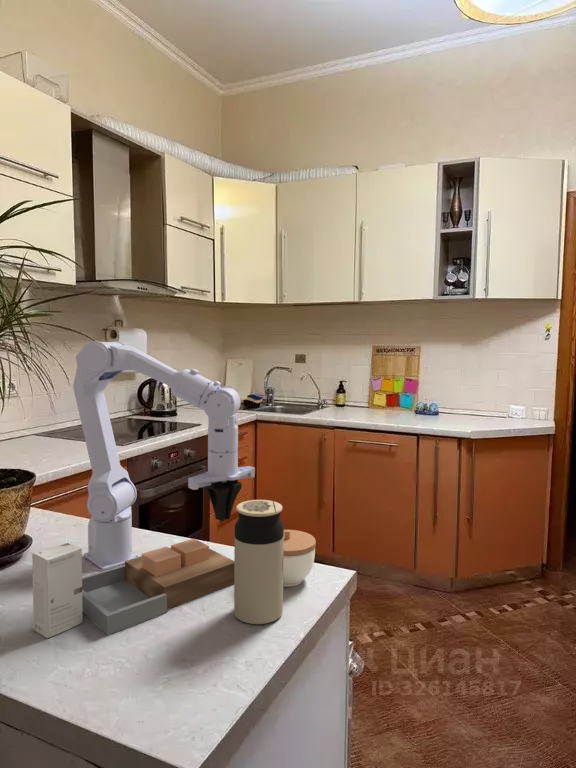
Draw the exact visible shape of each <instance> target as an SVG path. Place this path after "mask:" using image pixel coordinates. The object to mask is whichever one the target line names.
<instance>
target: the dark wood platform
mask: <svg viewBox="0 0 576 768" xmlns="http://www.w3.org/2000/svg"><path fill="white" fill-rule="evenodd" d="M169 548H170V549H171V547H169ZM139 556H140V555H139ZM124 566H125V580H126V581H127V582H129V583H130V584H131V585H133V586H134V587H135V588H137V589H138V590H140V591H141V592H142V593H144V594H145V595H147V596H148V597H149V598H152V597H155V596H158V595H161V594H163V593H165V594H166V595H167V611H168V610H171V609H173V608H175V607H178V606H180V604H181V605H183V604H186V603H188V601H189V602H191V601H194V600H196V599H199V598H201V597H204V596H206V595H209V594H212V593H214V592H217V591H220V590H222V589H225V588H228V587H230V586H233V585H234V559H231V558H229V557H227V556H226V555H223V554H221V553H220V552H217V551H215V550H213V549H211V548H209V559H208V560H205V561H202V562H199V563H196V564H193V565H190V566H184V565H182V564H181V568H180V569H177V570H174V571H171V572H168V573H165V574H162V575H159V576H154V575H153V574H151V573H150V572H148V571H147V570H145V569H144V568H142V555H141V556H140V557H137V558H134V559H130V560H127V561H125V564H124ZM185 602H186V603H185ZM172 607H173V608H172Z"/></svg>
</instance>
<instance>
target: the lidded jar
mask: <svg viewBox="0 0 576 768" xmlns="http://www.w3.org/2000/svg"><path fill="white" fill-rule="evenodd" d="M316 544H317V541H316V538H315V537H314V536H313V535H312V534H310V533H308V532H306V531H302V530H296V529H284V548H283V588H287V587H288V588H290V587H296V586H299V585H300V584H302V583H303V581H304V580H305V579H306V578H308V576H309V575H310V573H311V571H312V569H313V566H314V563H315V558H316V557H315V556H316Z"/></svg>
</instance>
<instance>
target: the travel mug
mask: <svg viewBox="0 0 576 768" xmlns="http://www.w3.org/2000/svg"><path fill="white" fill-rule="evenodd" d="M235 509H236V512H237V515H238V519H237V520H236V523H235V524H234V550H233V551H234V559H233V561H234V584H233V585H234V588H233V589H234V590H233V591H234V593H233V594H234V596H233V598H234V599H233V603H234V604H233V606H234V607H233V610H234V612H233V614H234V616H235V617H236V618H237V619H238V620H239V621H241V622H244V623H247V624H251V625H265V624H270V623H271V622H275V621H277V620H278V619H280V617H282V615H283V611H284V608H283V607H284V606H283V605H284V603H283V602H284V587H283V548H284V530H285V529H284V527H285V525H284V523H283V521H282V520H281V512H282V511H283V505H282V504H281V503H279V502H277V501H274V500H270V499H269V500H268V499H251V500H246V501H242V502H240V503H238V504H237V505H236V508H235Z"/></svg>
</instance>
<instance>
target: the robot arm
mask: <svg viewBox="0 0 576 768" xmlns="http://www.w3.org/2000/svg"><path fill="white" fill-rule="evenodd" d="M75 361H76V365H77V366H76V371H75V376H74V380H73V384H72V385H73V386H72V388H73V393H74V397H75V402H76V405H77V410H78V413H79V414H78V415H79V419H80V424H81V428H82V433H83V436H84V440H85V444H86V449H87V454H88V458H89V461H90V462H89V463H90V467H91V471H92V474H91V477H90V480H89V481H88V483H87V492H88V498H87V501H86V506H87V511H88V514H89V515H90V516H91V517H90V519H89V521H88V524H87V548H88V549H87V550H88V552H85V553H83V556H84V557H85V558H86V559H87V560H89V561H90V562H92V564H94V565H95V566H97V567H98V568H99V569H101V570H102V571H104V570H108V569H111V568H114V567H118V566H121V565H125V561H127V560H130V559H134V558H137V557H140V555H138V554H137V553H135V552H133V525H132V520H133V519H132V517H133V516H132V515H133V514H132V513H133V511H132V505H134V503H135V502H136V500H137V495H138V493H137V487H136V486H135V485H134V483H133V481H132V480H131V479H130V476H129V472H128V471H127V470H126V469H125V468H124V467H123V466H122V465H121V461H120V458H119V454H118V449H117V445H116V440H115V436H114V431H113V427H112V422H111V418H110V414H109V413H110V412H109V409H108V404H107V403H108V402H107V400H106V395H105V389H106V388H107V387H108V386H109V384H110V383H111V382H112V380H113V379H114V378H116V376H118V375H119V374H121V373H122V372H123V371H136V372H138V373H140V374H142V375H144V376H145V377H146V376H147V377H149V378H151V379H153V380H156V381H157V382H159V383H162V384H164V385H166V386H169V388H170V389H171V393H172V395H173V396H174V397H176V398H179V399H181V400H182V401H185V402H187V403H188V404H190V405H192V406H194V407H197V408H198V409H200V410H204V412H205V415H206V416H207V418H208V419H207V420H208V421H207V422H208V425H207V426H208V427H207V431H208V432H207V471H205V472H203V473H200V474H197V475H194V476H192V477H191V476H190V477H188V478H187V480H188V482H187V483H188V484H187V488H188V489H190V490H193V491H194V490H196V491H197V490H199V488H200V489H201V488H204V490H205V492H206V493H207V495H208V497H209V499H210V501H211V505H212V508H213V513H214V518H215V519H216V520H218V521H220V522H224V521H225V520H230V519H231V514H232V510H233V507H234V504H235V501H236V499H237V496H238V495H239V492H240V491H241V490H242V487H243V486H242V485H243V484H242V482H240V481H239V480H240V479H245V478H249V479H250V478H251V479H252V478H255V474H256V467H253V466H251V465H247V466H240V467H239V464H238V463H239V460H238V459H239V458H238V457H239V456H238V455H239V426H238V411H239V410H240V407H241V405H242V404H241V403H242V399H241V398H242V397H241V395H240V394H239V392H238V391H237V390H236V389H234V388H233V387H232V386H230V385H224V386H221V385H222V383H221V382H220V381H218V380H214V381H212V380H210V379H209V378H207V377H204V376H203V375H201V374H200V370H197V369H196V368H192V369H188V368H184V369H182V370H179V371H178V370H177V369H174V368H173V367H171V366H169V365H167V364H165V363H164V362H162V361H160V360H158V359H156V358H154V357H153V356H151V355H149V354H147V353H145V352H143V351H142V350H140V349H138V348H137V347H135V346H132V345H130V344H129V345H126V343H124V342H122V341H119V340H115V341H97V340H95V341H90V342H89V341H88V342H87V343H86V344H85V345H84V346H83V347H81V349H80V351H79V352H78V353H77V355H76V356H75Z"/></svg>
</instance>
